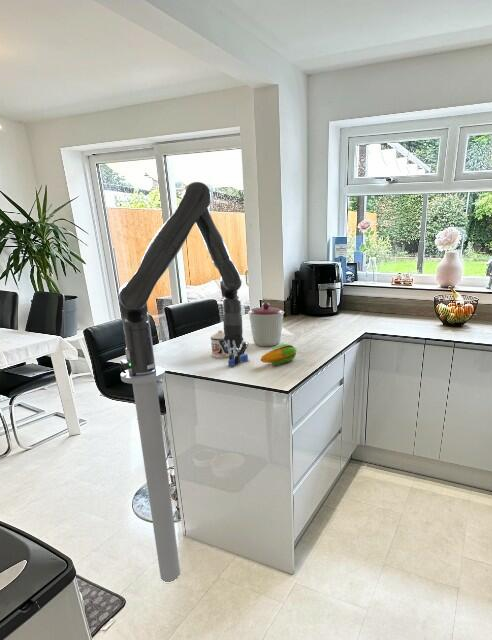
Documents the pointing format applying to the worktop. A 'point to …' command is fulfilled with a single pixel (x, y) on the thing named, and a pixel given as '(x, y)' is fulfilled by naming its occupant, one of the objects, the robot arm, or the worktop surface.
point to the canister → (266, 325)
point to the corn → (279, 355)
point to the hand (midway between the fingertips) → (234, 363)
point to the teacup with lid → (218, 345)
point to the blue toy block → (242, 358)
